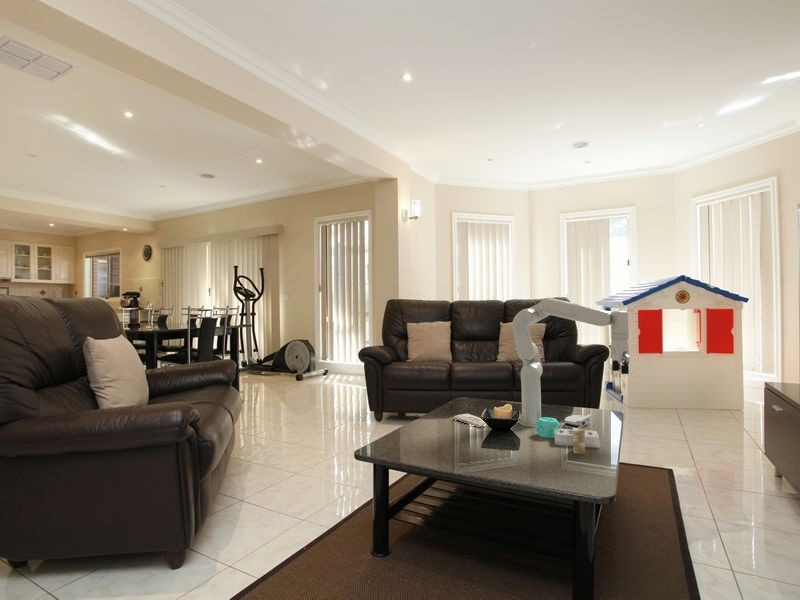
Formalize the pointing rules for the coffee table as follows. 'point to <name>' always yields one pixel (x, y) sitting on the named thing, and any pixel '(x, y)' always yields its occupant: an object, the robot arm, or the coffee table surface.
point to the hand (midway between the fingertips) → (620, 372)
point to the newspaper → (470, 419)
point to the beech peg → (579, 440)
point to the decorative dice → (546, 427)
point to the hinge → (576, 421)
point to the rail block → (567, 437)
